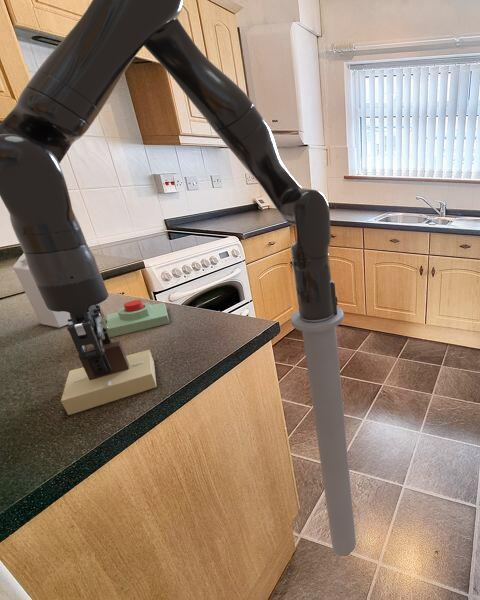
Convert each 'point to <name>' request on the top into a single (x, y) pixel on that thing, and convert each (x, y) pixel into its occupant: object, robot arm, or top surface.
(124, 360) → the brown rectangular block
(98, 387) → the panel
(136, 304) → the button
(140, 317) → the button block
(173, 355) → the top surface
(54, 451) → the top surface
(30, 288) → the milk carton
